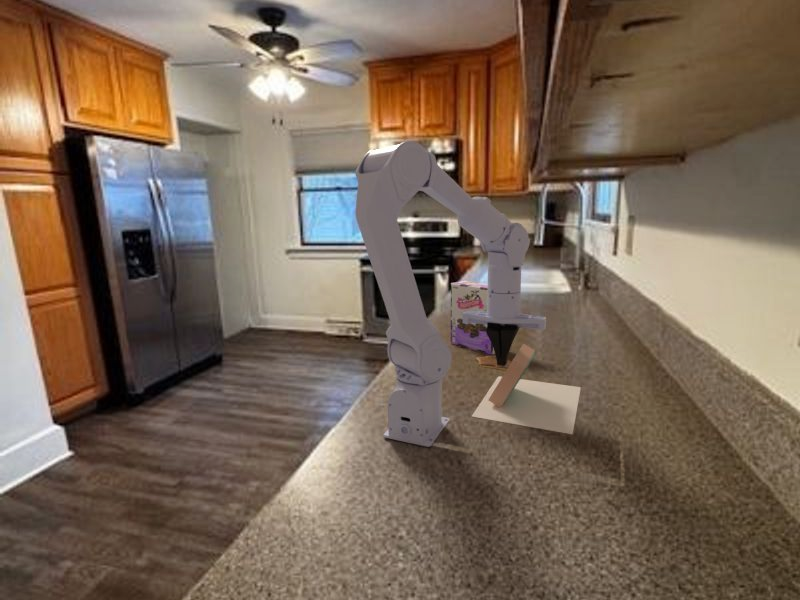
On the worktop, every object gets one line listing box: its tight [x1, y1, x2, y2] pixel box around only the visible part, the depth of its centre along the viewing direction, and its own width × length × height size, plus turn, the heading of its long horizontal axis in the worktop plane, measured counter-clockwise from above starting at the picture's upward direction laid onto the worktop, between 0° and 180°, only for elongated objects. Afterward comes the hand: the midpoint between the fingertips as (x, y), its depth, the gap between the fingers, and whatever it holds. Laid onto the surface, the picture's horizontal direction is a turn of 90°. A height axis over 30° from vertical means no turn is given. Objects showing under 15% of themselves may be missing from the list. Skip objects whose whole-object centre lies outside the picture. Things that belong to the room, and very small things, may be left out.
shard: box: [475, 355, 512, 371], centre depth 99 cm, size 11×8×2 cm
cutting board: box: [471, 375, 582, 435], centre depth 81 cm, size 20×16×1 cm
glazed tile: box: [489, 343, 536, 408], centre depth 82 cm, size 10×3×9 cm, turn 155°
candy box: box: [450, 279, 495, 356], centre depth 114 cm, size 14×6×16 cm, turn 42°
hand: (502, 363), depth 82 cm, fingers closed
